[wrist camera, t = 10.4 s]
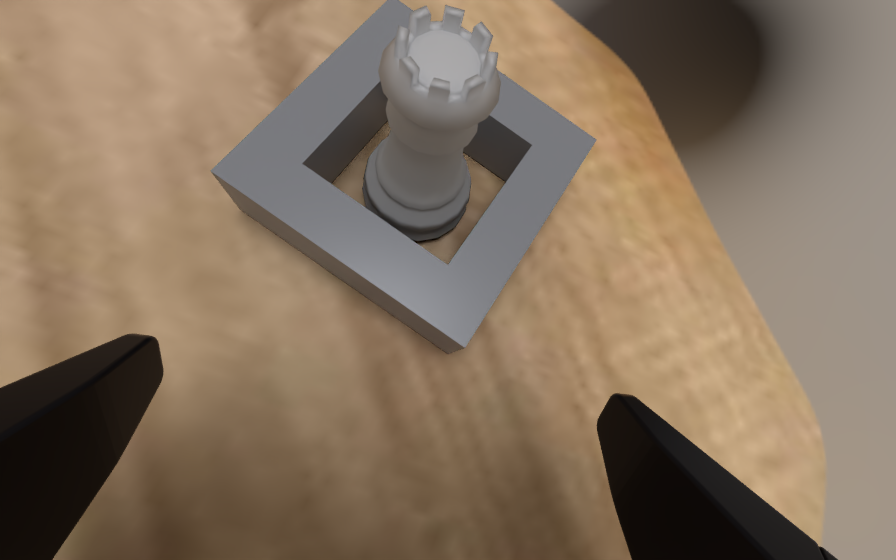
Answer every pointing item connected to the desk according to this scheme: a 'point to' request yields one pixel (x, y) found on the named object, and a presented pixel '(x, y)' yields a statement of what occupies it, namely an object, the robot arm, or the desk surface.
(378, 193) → the rook chess piece
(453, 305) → the hollow square block
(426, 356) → the desk surface
